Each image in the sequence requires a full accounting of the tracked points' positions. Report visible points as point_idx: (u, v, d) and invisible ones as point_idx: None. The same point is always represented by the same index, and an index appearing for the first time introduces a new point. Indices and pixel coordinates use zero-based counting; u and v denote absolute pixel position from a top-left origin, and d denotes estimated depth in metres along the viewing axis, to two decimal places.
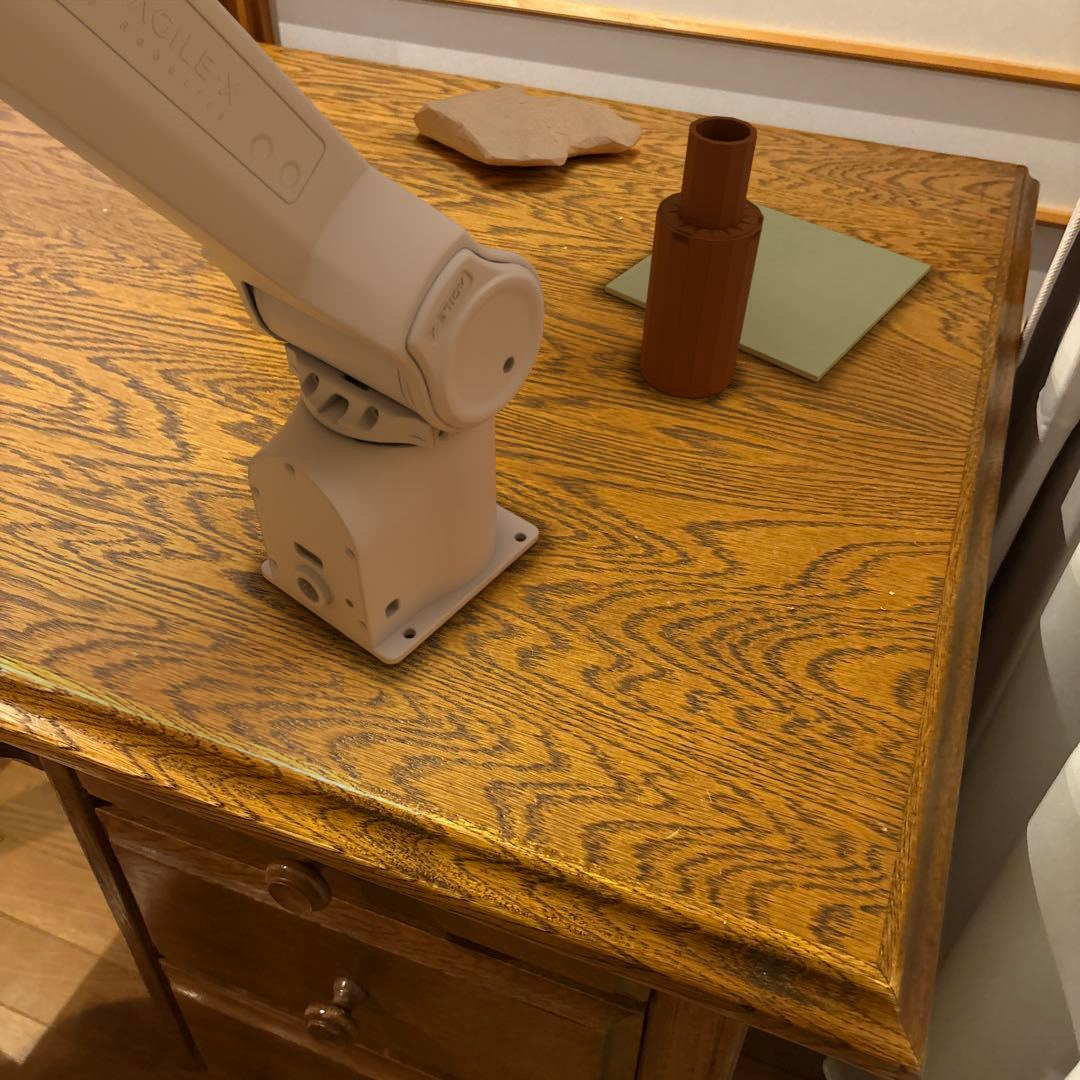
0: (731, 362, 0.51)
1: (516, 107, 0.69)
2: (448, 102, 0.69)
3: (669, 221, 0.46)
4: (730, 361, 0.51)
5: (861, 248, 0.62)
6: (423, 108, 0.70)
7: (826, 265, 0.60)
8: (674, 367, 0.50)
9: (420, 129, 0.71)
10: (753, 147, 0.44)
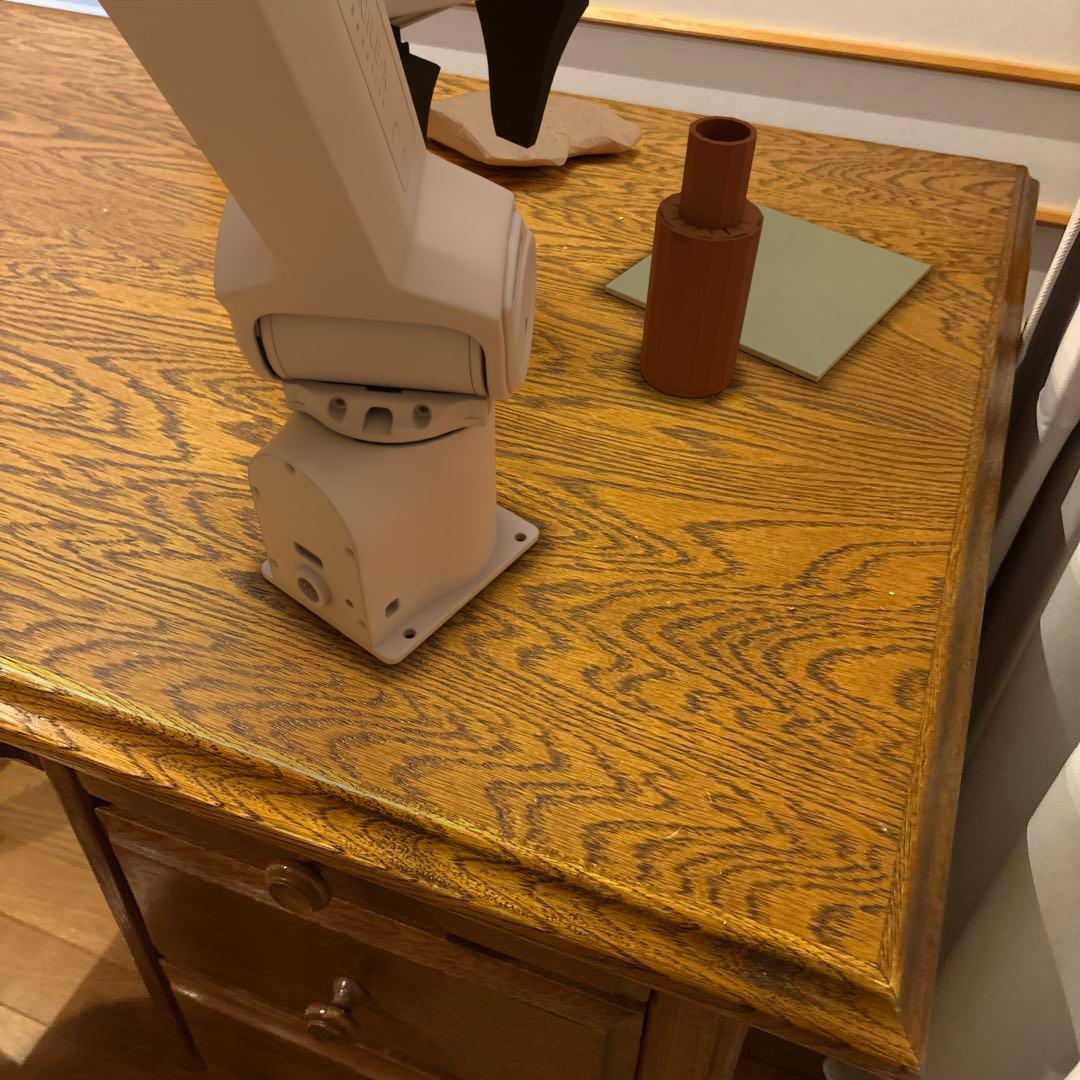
0: (731, 362, 0.51)
1: None
2: (448, 102, 0.69)
3: (669, 221, 0.46)
4: (730, 361, 0.51)
5: (861, 248, 0.62)
6: None
7: (826, 265, 0.60)
8: (674, 367, 0.50)
9: None
10: (753, 147, 0.44)
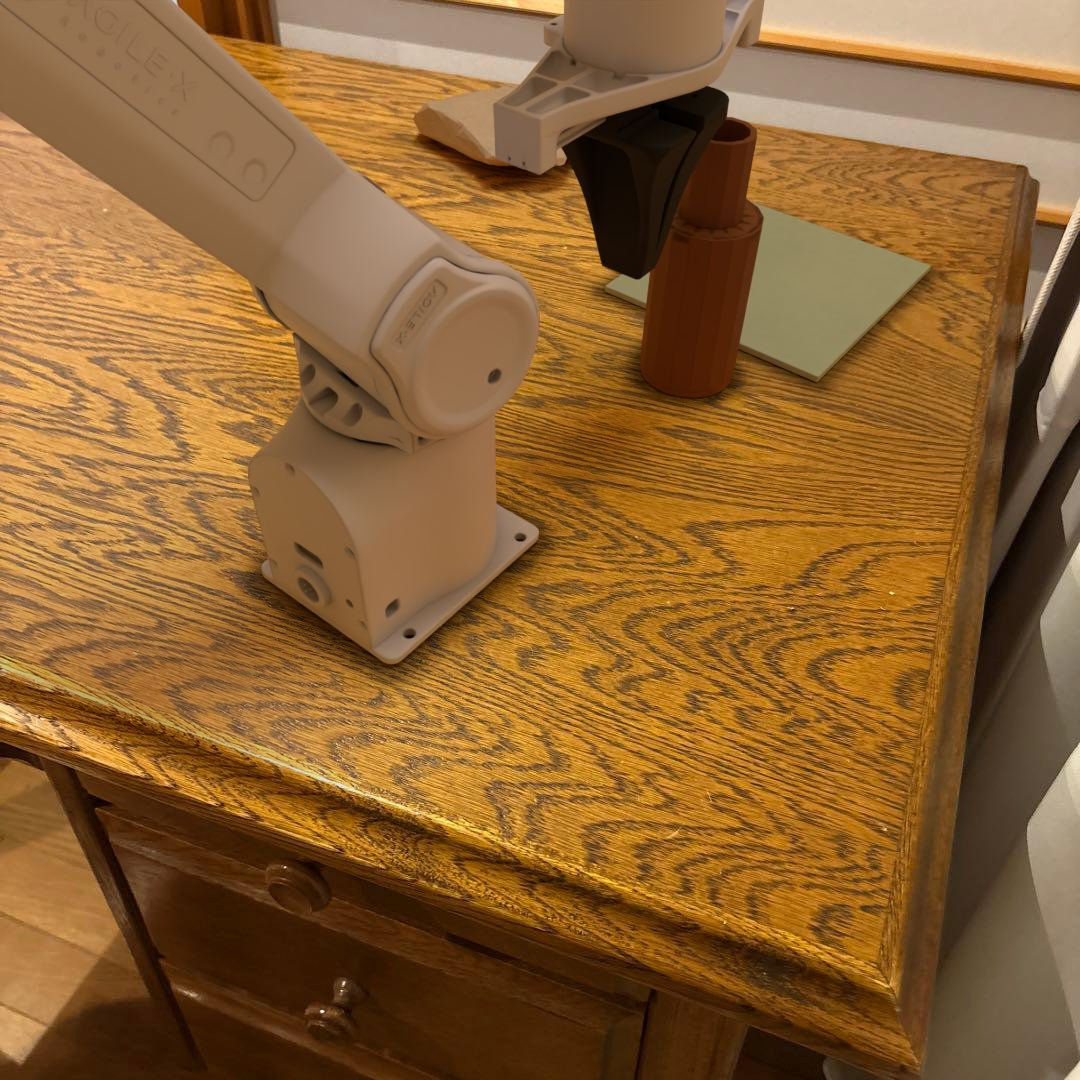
0: (731, 362, 0.51)
1: None
2: (448, 102, 0.69)
3: None
4: (730, 361, 0.51)
5: (861, 248, 0.62)
6: (423, 108, 0.70)
7: (826, 265, 0.60)
8: (674, 367, 0.50)
9: (420, 129, 0.71)
10: (753, 147, 0.44)
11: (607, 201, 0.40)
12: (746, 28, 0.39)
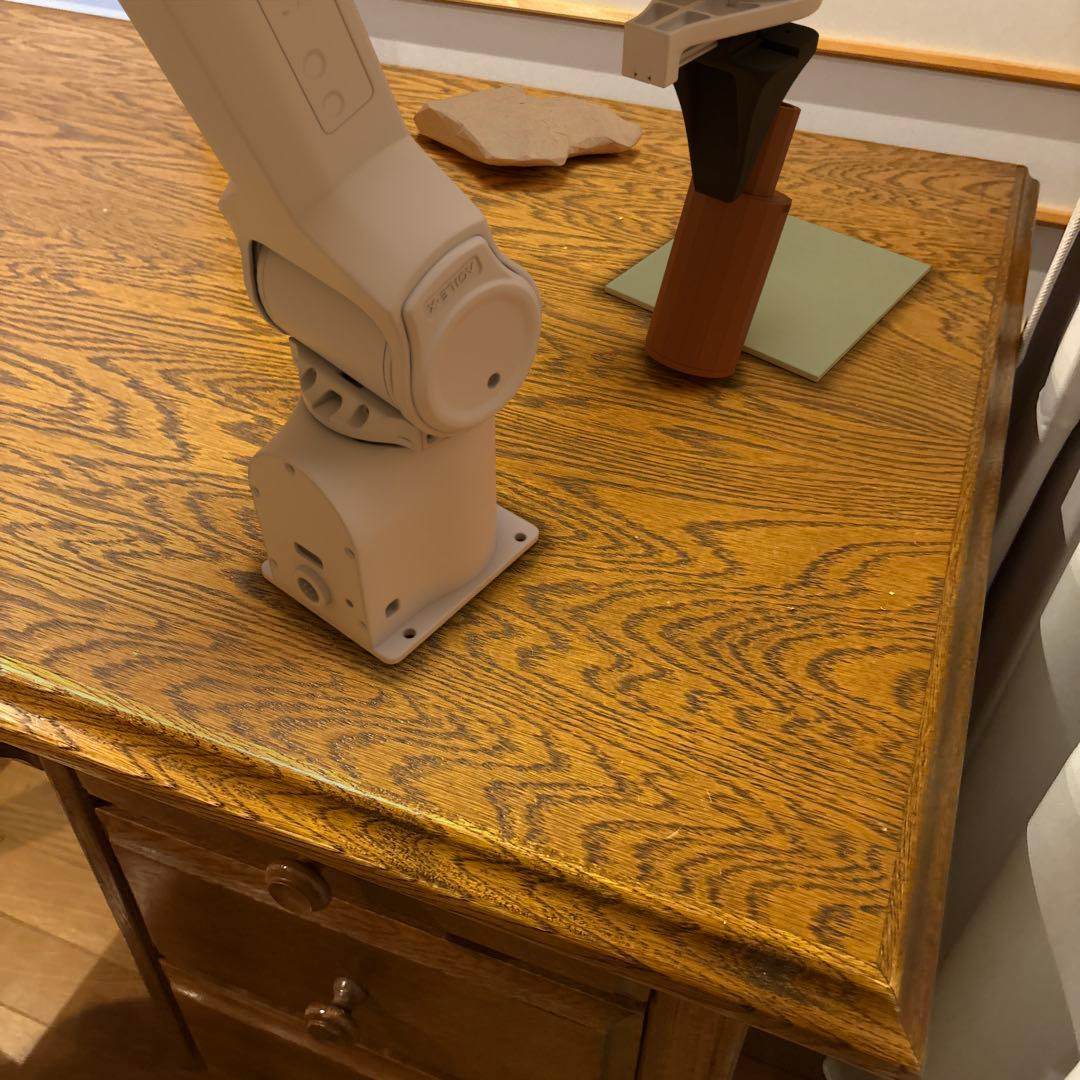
0: (739, 348, 0.51)
1: (516, 107, 0.69)
2: (448, 102, 0.69)
3: None
4: (739, 345, 0.51)
5: (861, 248, 0.62)
6: (423, 108, 0.70)
7: (826, 265, 0.60)
8: (686, 337, 0.50)
9: (420, 129, 0.71)
10: (796, 119, 0.46)
11: (706, 128, 0.44)
12: None
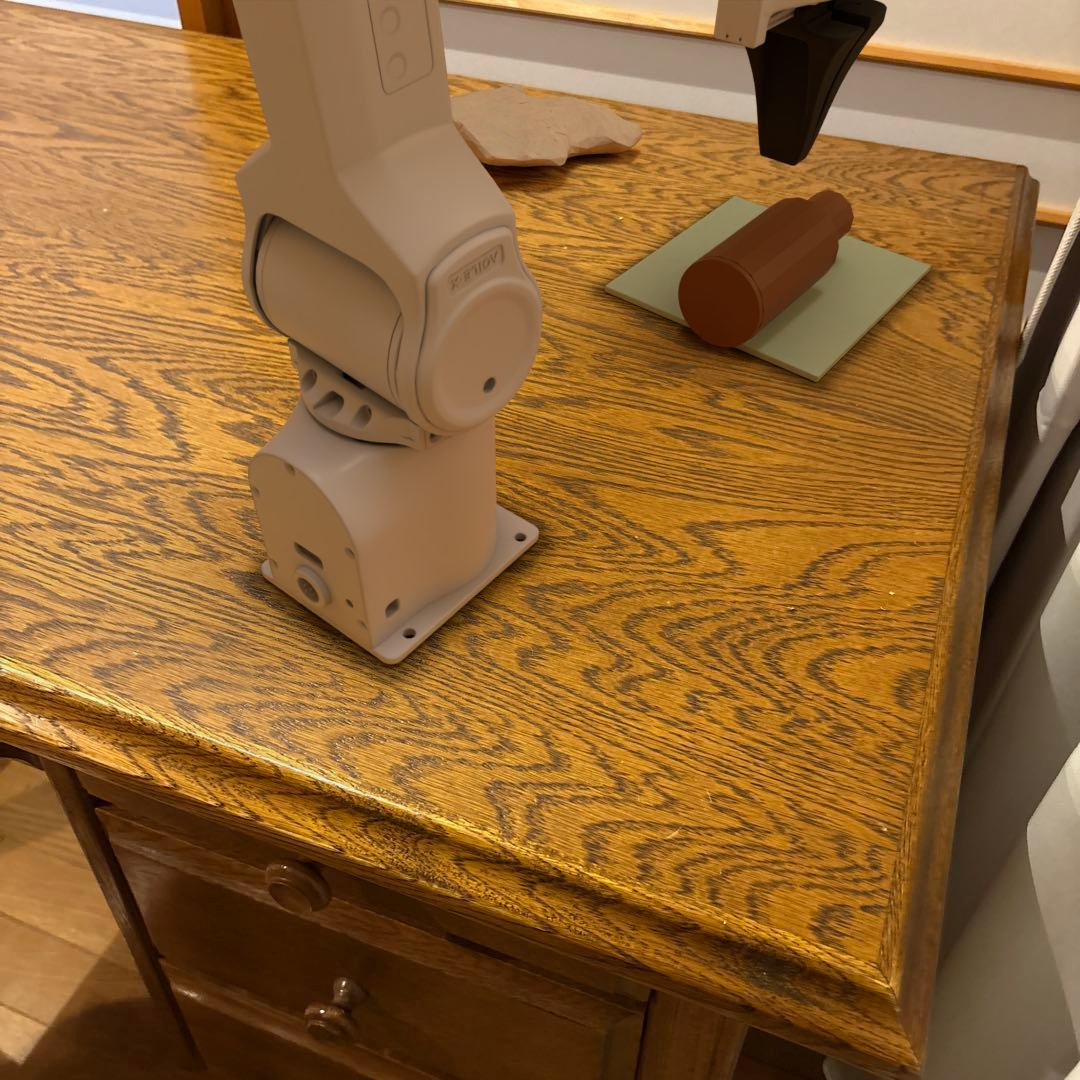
0: (773, 309, 0.52)
1: (516, 107, 0.69)
2: None
3: None
4: (775, 305, 0.52)
5: (861, 248, 0.62)
6: None
7: None
8: (752, 252, 0.51)
9: None
10: (848, 229, 0.59)
11: (775, 95, 0.48)
12: None
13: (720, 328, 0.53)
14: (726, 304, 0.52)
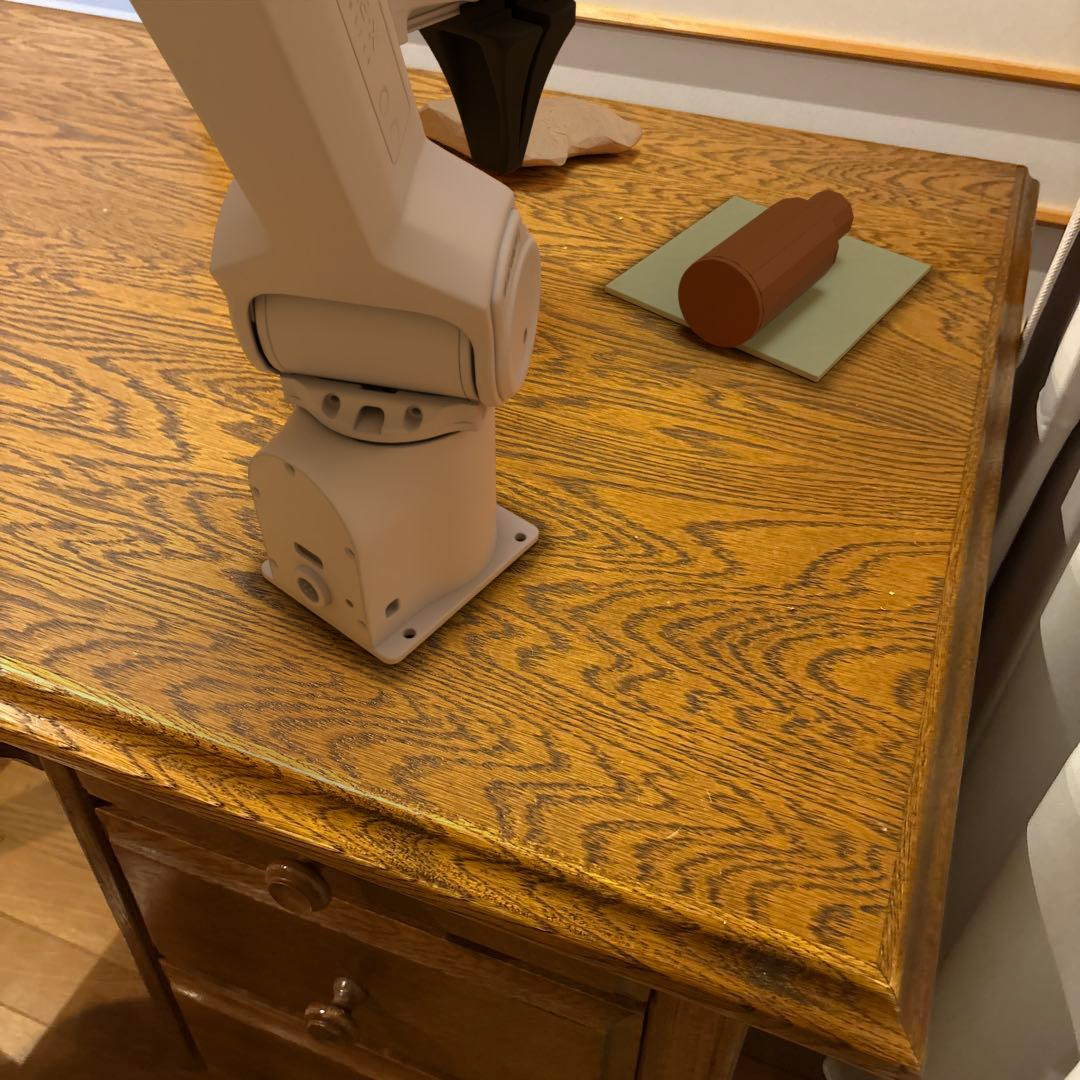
0: (773, 309, 0.52)
1: None
2: (448, 102, 0.69)
3: None
4: (775, 305, 0.52)
5: (861, 248, 0.62)
6: (423, 108, 0.70)
7: None
8: (752, 252, 0.51)
9: None
10: (848, 229, 0.59)
11: (473, 99, 0.44)
12: None
13: (720, 328, 0.53)
14: (726, 304, 0.52)
